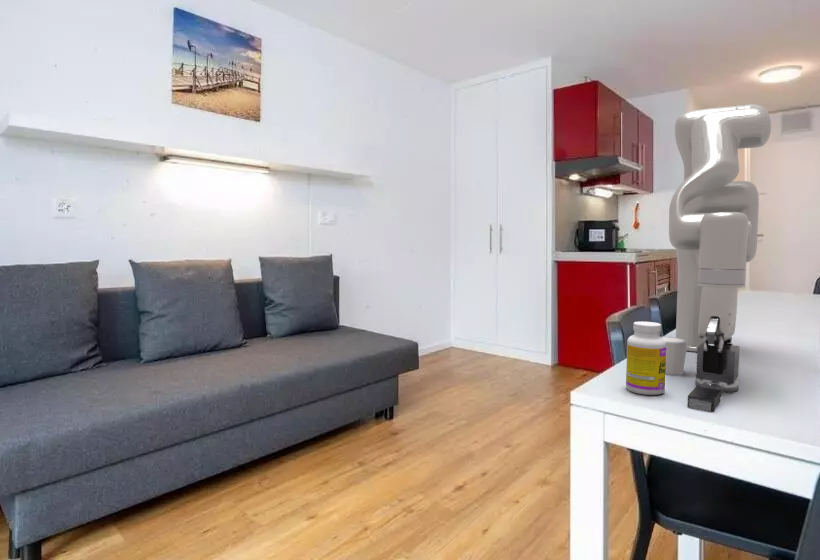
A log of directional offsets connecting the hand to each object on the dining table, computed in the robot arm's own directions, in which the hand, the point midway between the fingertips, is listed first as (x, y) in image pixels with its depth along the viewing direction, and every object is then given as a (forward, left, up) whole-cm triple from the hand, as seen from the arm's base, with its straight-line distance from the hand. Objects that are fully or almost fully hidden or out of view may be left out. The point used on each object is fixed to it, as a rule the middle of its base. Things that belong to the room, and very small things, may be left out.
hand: (717, 367), depth 93 cm
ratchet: (+6, 0, -4) cm, 7 cm away
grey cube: (0, 0, -2) cm, 2 cm away
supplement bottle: (+11, -10, -4) cm, 15 cm away
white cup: (-7, -10, -4) cm, 13 cm away
